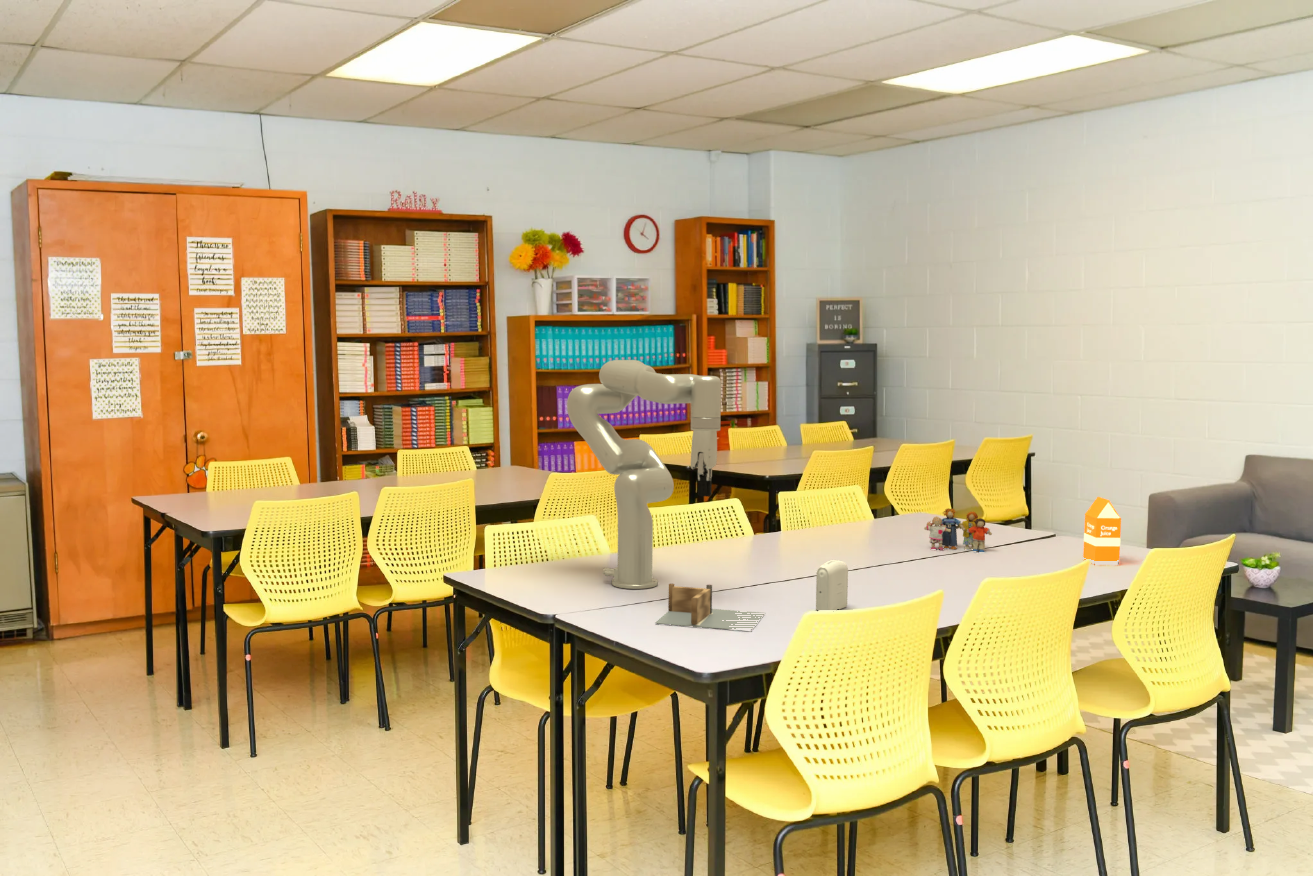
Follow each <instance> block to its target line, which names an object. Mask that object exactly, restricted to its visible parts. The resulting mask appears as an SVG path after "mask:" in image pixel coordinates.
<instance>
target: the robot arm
mask: <svg viewBox="0 0 1313 876" xmlns="http://www.w3.org/2000/svg"><path fill="white" fill-rule="evenodd" d="M598 378H599V381H600V383H587V384H582V385H578V386H576V387H575V388H573V389H572V390H571V391H570V392H569V394H568V397H567V401H566V408H567V413H568V418H569V420H570V422H571V424H572V425H573V427H574V429H575V430H576V432H578V434H579V435H580V436H581V437H582V438H583V440H584V441H585V443H586V444H587V445H588V446H589V448H590V450H591V451H592V453H593V454H594V456H595V457H596V458H597V460H598V461H599V463H600V464H601V466H602V467H603V468H604V470H605V472H607V473H608V474H609V475H610V474H611V475H613V476H615V475H618V476H617V477H616V479H615V481H614V488H613V490H614V496H615V500H616V508H617V509H616V510H617V566H616V567H614V568H611V567H604V568H603V570H602V574H603V575H604V576H605V577H611V576H612V577H613V578H612V580H611V585H612V586H614V587H616V588H620V589H627V590H628V589H629V590H641V589H642V590H644V589H650V588H655V587H656V586H658V585H659V581H658V579H657V578H655V577H653V551H654V550H653V548H654V547H653V546H654V545H653V538H654V531H653V530H654V524H653V521H654V520H653V516H652V513H651V511H650V508H649V506H648V504H651V503H658V502H663V501H666V500H667V499H669V498H670V497H671V496H672V494H673V492H674V486H675V485H674V480H673V477H672V474H671V473H670V471H669V470H668V468H667V466H666V465H665V463H664V462H663V460H662V459H661V458H660V456H659V455H658V454H657V452H656V451H655V450H654V448H653V447H652V446H651V445H650V444H649V443H648V442H646V441H645V440H643V439H637V438H632V439H631V438H629V439H624V438H623V437H621V436H620V435H619V434H618V432H617V431H616V430H615V428H614V427H613V425H612V424H611V423H610V422H609V421H608V420H606V419H604V418H603V417H601V416H600V414H601V415H602V414H603V415H604V414H616V413H620V412H621V411H623V410H624V409H625V408H626V407H627V406H629V405H630V403H632V401H633V400H634V399H635V398H636V397H640V398H641V399H642V400H644V401H649V402H652V403H658V404H664V405H665V404H666V405H671V404H673V405H674V404H690V405H691V406H690V431H692V439H691V449H690V450H691V451H690V468H691V469H692V470H695V469H697V496H698V497H711V496H712V485H713V484H712V483H713V482H712V477H713V468H715V467H716V465H717V461H718V460H717V459H718V436H717V433H718V432H719V431H721V416H722V415H721V413H722V412H721V408H722V406H721V405H722V403H721V400H722V398H721V397H722V381H721V379H720V377H719V376H715V375H698V374H693V373H692V374H690V373H683V374H681V373H678V374H677V373H676V374H675V373H674V374H667V373H665V374H664V373H663V374H662V373H659V372H658V373H657V372H656V371H655V369H654V368H653V367H652V366H651V365H649V364H648V365H647V364H644V362H642V361H641V360H637V359H614V360H609V361H607V362H605V363H604V364H603V365H602V366H601V368H600V370H599V374H598Z"/></svg>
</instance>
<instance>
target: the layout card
mask: <svg viewBox="0 0 1313 876" xmlns="http://www.w3.org/2000/svg"><path fill="white" fill-rule="evenodd" d="M737 611H738V612H737ZM740 611H741V610H732V609H719V608H712V614H709V615H707V616H706V617H705V618H704V619H702V620H701V621H700V622H698V623H697V624H691V613H688V612H675V611H668V610H667V612H666V613H665V614H664V615H662V616H661V617H660V618H659V619H657V620H656V621H655V622H654V624H655V623H657V624H656V625H659V624H671V625H670V626H672V625H679V626H678V627H684V626H693V627H692V628H697V627H702V628H701V629H709V628H720V629H719V630H721V629H732V628H734V629H736V628H753V627H729V626H755V625H735V624H757V623H737V622H756V621H726V620H739V619H740V620H743V619H746V620H747V619H748V620H759V619H761V617H762V616H756V615H764V614H751V613H762V612H759V611H747V612H740ZM735 613H742V614H735ZM747 613H750V614H747ZM737 615H751V616H737ZM753 615H755V616H753ZM764 616H765V615H764ZM738 617H740V618H738ZM742 617H751V618H742ZM755 617H756V618H755ZM758 617H760V618H758ZM762 618H763V617H762ZM722 620H724V621H722ZM761 620H762V619H761ZM757 622H758V621H757ZM731 624H733V625H731ZM757 625H758V624H757ZM755 627H756V626H755Z"/></svg>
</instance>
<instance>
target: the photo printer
mask: <svg viewBox="0 0 1313 876" xmlns="http://www.w3.org/2000/svg"><path fill="white" fill-rule="evenodd" d="M815 580H816V583H815V587H816V588H815V589H816V590H815V611H817V610H836V611H838V610H837V609H839V610H842V609H844V608H846V607H847V606H848V591H849V590H848V587H849V586H848V585H849V582H848V581H849V567H848V565H847V563H846V562H845V561H842V560H838V559H837V560H836V559H831V560H828V561H826V562H824V563H823V564H822V565H820V566H819V567H818V569H817V570H816V579H815Z"/></svg>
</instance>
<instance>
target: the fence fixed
mask: <svg viewBox="0 0 1313 876" xmlns="http://www.w3.org/2000/svg"><path fill="white" fill-rule="evenodd" d="M705 586H706V588H704V587H702V588H701V587H692V586H691V587H689V586H677V585H676V586H675V583H668V605H667V609H668V610H667V612H668V611H675V612H688V613H691V598H693V597H694V596H696V595H697V594H699V593H700V592H702V591H703V590H705V589H710V614H712V609H713V584H706V585H705Z"/></svg>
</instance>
